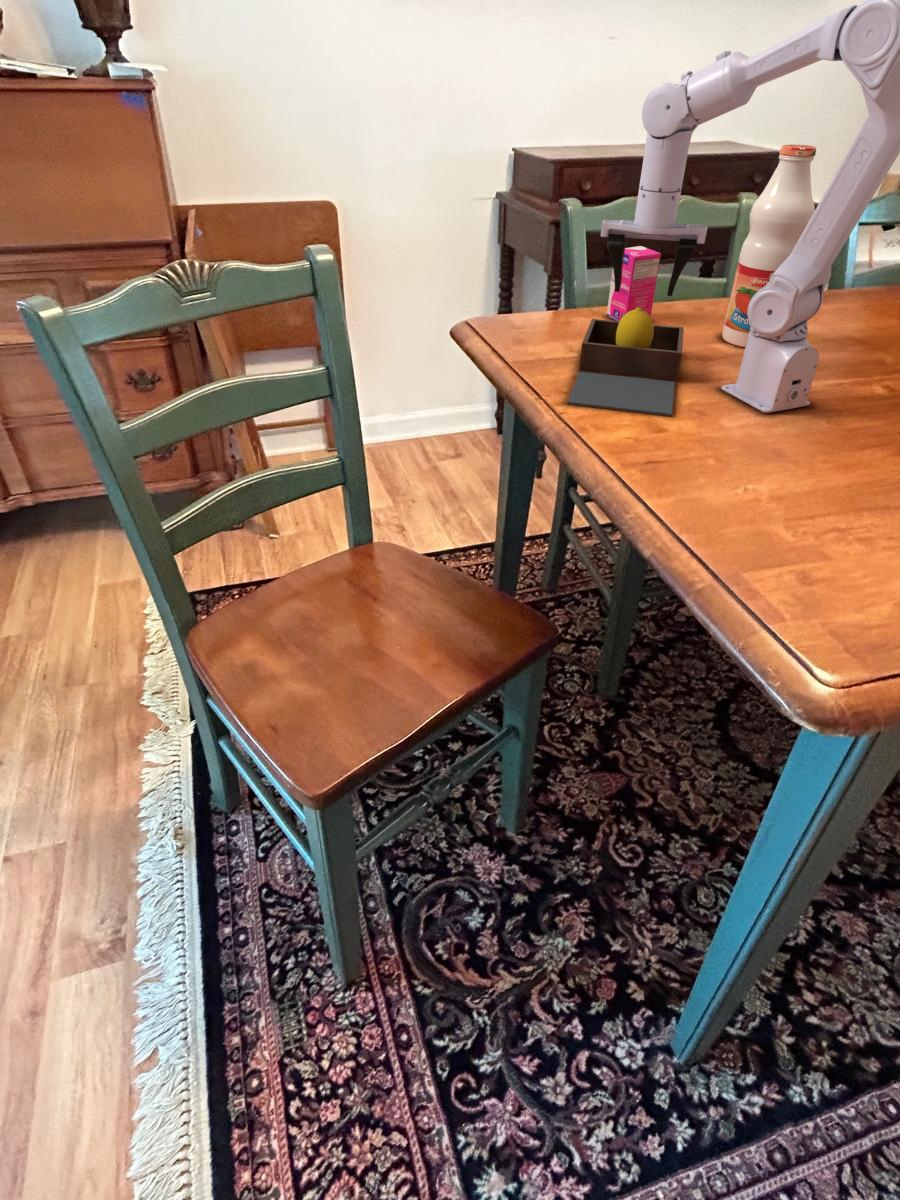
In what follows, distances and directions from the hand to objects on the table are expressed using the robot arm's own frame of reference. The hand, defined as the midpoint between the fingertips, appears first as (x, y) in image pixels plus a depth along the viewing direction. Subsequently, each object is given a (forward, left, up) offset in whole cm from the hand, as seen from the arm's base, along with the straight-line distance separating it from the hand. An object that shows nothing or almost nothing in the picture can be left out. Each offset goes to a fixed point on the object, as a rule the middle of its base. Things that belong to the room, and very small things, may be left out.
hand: (643, 292), depth 111 cm
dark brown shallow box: (-1, +1, -10) cm, 10 cm away
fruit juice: (+1, -24, -10) cm, 26 cm away
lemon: (-1, +1, -10) cm, 10 cm away
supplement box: (+18, -11, -10) cm, 23 cm away
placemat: (-12, +9, -10) cm, 18 cm away
